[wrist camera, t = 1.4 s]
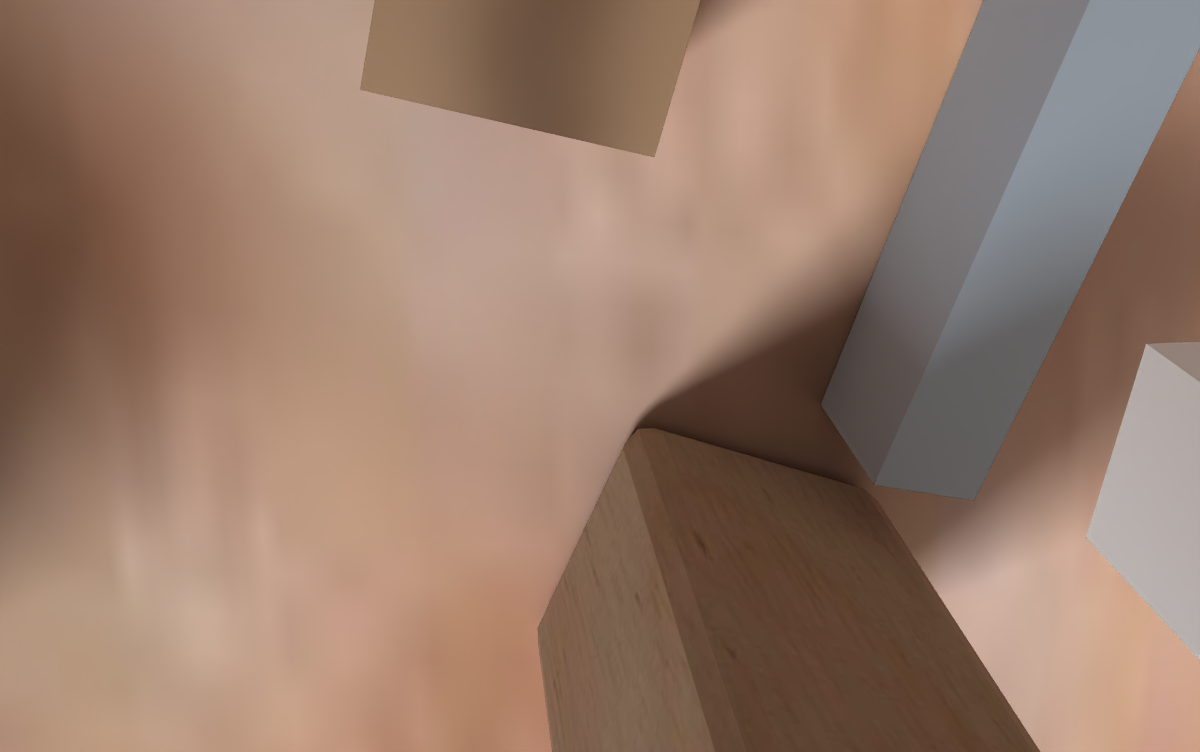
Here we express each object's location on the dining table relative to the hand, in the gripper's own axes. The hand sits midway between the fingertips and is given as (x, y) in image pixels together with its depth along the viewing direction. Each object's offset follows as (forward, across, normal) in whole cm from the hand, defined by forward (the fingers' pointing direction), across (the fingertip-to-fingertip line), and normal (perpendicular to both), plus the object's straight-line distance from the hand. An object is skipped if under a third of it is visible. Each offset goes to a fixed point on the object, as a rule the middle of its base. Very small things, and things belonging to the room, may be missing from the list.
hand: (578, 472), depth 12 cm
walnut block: (+21, +1, +4) cm, 21 cm away
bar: (+20, +16, 0) cm, 26 cm away
